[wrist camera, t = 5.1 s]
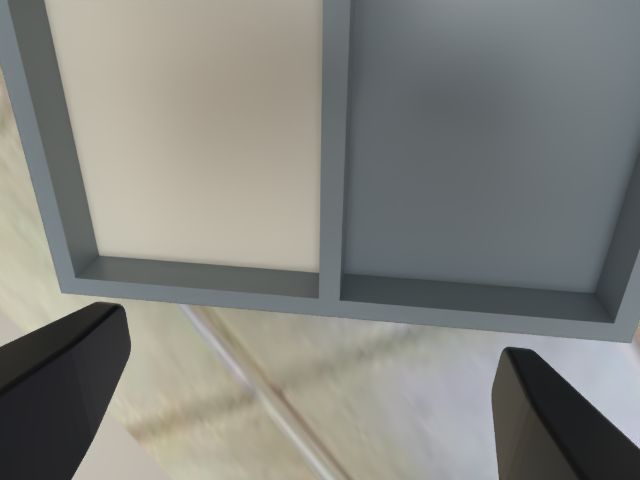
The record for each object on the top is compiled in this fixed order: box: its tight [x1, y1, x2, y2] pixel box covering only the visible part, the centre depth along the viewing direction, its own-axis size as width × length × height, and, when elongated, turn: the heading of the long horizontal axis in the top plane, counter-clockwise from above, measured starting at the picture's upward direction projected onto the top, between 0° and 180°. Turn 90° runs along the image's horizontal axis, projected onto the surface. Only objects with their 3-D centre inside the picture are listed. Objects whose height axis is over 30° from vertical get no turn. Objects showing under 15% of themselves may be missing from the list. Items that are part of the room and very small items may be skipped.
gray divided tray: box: [0, 0, 640, 343], centre depth 18 cm, size 13×22×2 cm, turn 89°
